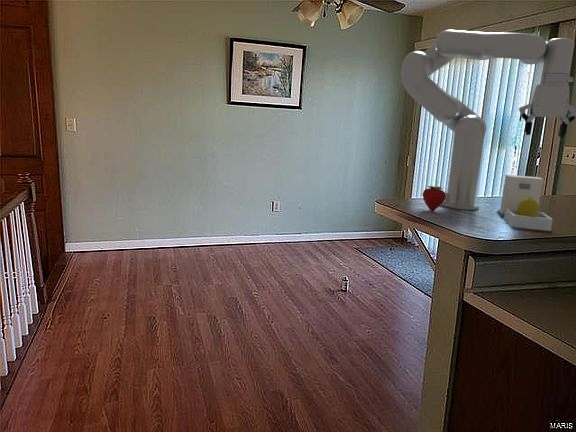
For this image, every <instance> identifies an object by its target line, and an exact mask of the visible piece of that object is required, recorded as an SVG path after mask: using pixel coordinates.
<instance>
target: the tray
mask: <svg viewBox="0 0 576 432" xmlns="http://www.w3.org/2000/svg"><path fill="white" fill-rule="evenodd" d="M503 220H504V221H505V222H506V223H507V225H508V226H510V227H511V228H518V229H527V230H535V231H536V230H537V231H545V232H551V231H552V226H553V221H554V220H553V218H552V217H550V216H549V215H547V214H546V213H544V212H542V211H538V214H537V216H536V217H530V216H520V215H518V214H517V210H515V209H505V215H504V218H503Z"/></svg>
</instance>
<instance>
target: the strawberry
mask: <svg viewBox="0 0 576 432" xmlns="http://www.w3.org/2000/svg"><path fill="white" fill-rule="evenodd" d="M438 183H439V181H438V180H437V182H436V184H438ZM426 187H428V188H426V189H424V190H423V191H422V198H423V201H424V203H425V205H426V206H427V209H429V211H430V212H435V211H436V210H437V209H438V208H439V207H440V206H442V205H441V204H442V203H443V202H444V199H445V197H446V195H445V192H446V191H444V190H443V188H442V187H441V186H438V185H436V186H433V185H427V186H426Z"/></svg>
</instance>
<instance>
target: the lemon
mask: <svg viewBox="0 0 576 432" xmlns="http://www.w3.org/2000/svg"><path fill="white" fill-rule="evenodd" d="M538 212H539V207H538V204H537V202H536V201H535V200H534V199H532V197H528V198H525V199H523V200H522V201H521V202H520V203H519V205H518V209H517V214H518V215H520V216H530V217H536V216H537V214H538Z"/></svg>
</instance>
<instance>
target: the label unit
mask: <svg viewBox="0 0 576 432" xmlns="http://www.w3.org/2000/svg"><path fill="white" fill-rule="evenodd" d="M543 184H544V179H543V178H542V177H539V176H528V175H516V174H514V175H513V174H505V177H504V184H503V191H502V195H501V201H500V209H497V215H499V216H500V218H503V219H504V215H505V209H515V210H517V209H518V205H519V203H520V202H521V201H522V200H523V199H525V198H528V197H532V199H534V200H535V201H536V202H537V204H538V208H539V206H540V202H541V201H540V200H541V194H542V188H543Z"/></svg>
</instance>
